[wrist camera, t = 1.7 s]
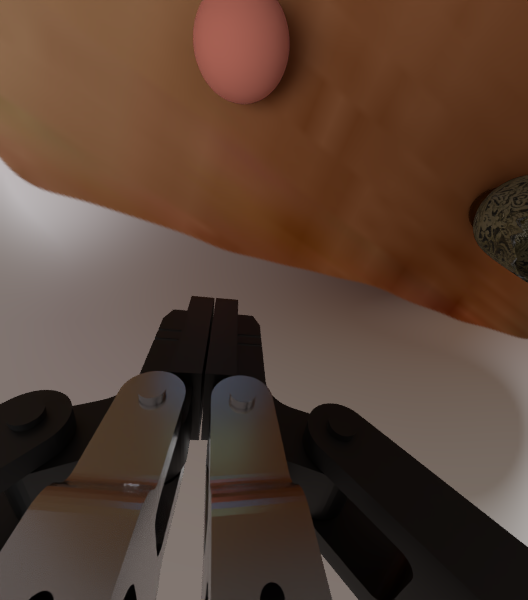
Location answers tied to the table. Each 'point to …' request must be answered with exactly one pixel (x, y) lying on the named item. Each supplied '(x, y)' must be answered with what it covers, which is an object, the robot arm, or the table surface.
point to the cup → (504, 224)
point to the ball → (241, 47)
